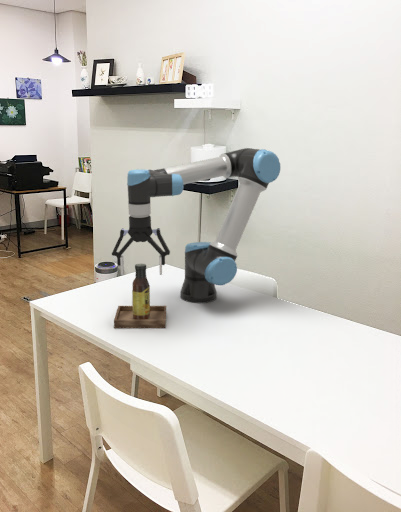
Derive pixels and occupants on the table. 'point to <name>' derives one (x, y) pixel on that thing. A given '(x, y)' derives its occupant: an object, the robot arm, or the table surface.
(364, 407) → the table surface
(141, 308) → the sauce bottle
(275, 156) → the robot arm
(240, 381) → the table surface
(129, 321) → the tray
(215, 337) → the table surface
